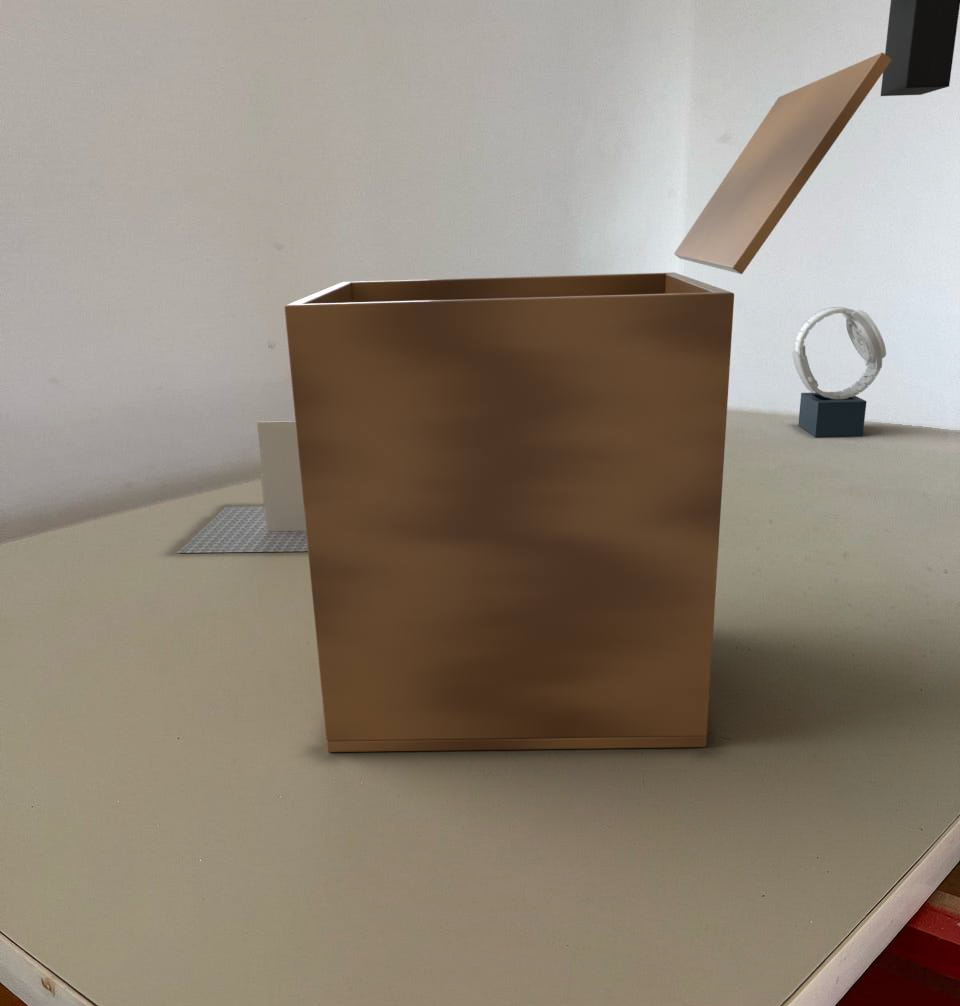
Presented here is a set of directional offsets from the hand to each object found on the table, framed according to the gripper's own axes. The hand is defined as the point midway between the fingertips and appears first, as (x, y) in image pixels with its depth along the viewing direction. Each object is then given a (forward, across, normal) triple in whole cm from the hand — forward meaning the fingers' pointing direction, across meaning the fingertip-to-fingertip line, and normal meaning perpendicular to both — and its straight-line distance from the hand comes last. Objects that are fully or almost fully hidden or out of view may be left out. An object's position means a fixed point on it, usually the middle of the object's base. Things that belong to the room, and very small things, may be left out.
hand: (913, 90), depth 37 cm
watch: (+23, +15, +55) cm, 62 cm away
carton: (+23, -15, 0) cm, 28 cm away
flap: (+3, -5, 0) cm, 6 cm away
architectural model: (+24, -29, +26) cm, 45 cm away
